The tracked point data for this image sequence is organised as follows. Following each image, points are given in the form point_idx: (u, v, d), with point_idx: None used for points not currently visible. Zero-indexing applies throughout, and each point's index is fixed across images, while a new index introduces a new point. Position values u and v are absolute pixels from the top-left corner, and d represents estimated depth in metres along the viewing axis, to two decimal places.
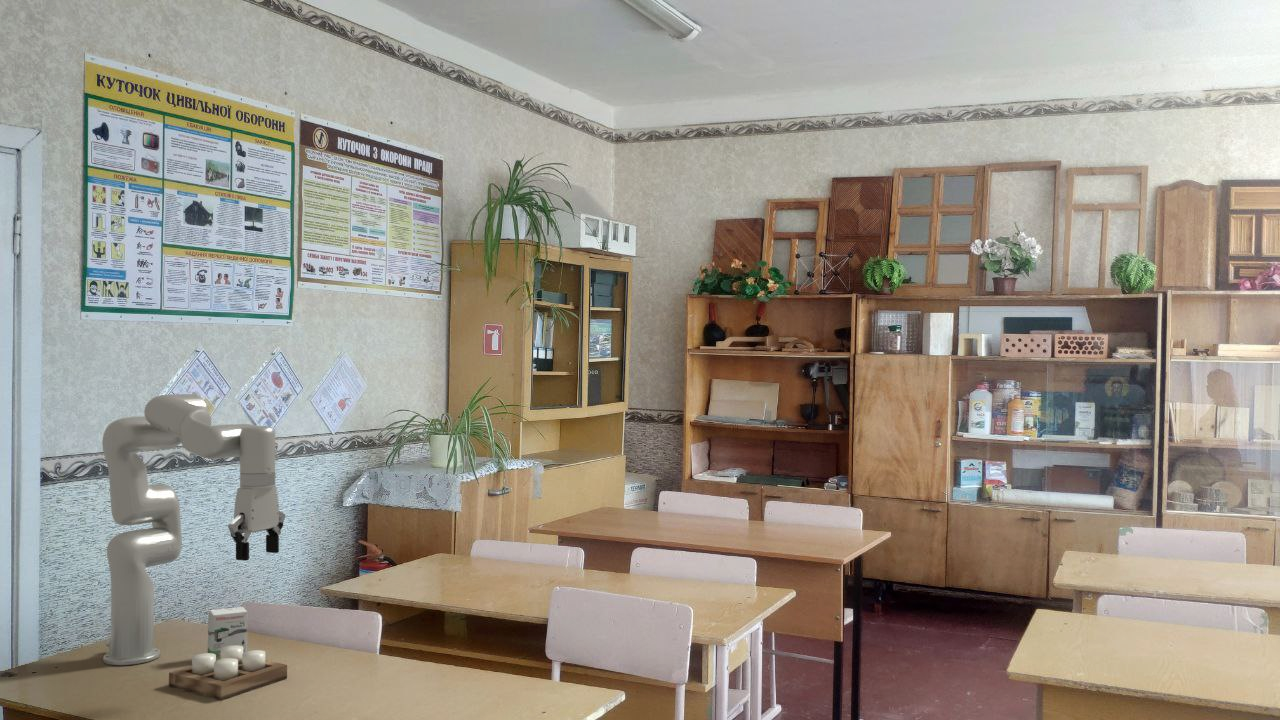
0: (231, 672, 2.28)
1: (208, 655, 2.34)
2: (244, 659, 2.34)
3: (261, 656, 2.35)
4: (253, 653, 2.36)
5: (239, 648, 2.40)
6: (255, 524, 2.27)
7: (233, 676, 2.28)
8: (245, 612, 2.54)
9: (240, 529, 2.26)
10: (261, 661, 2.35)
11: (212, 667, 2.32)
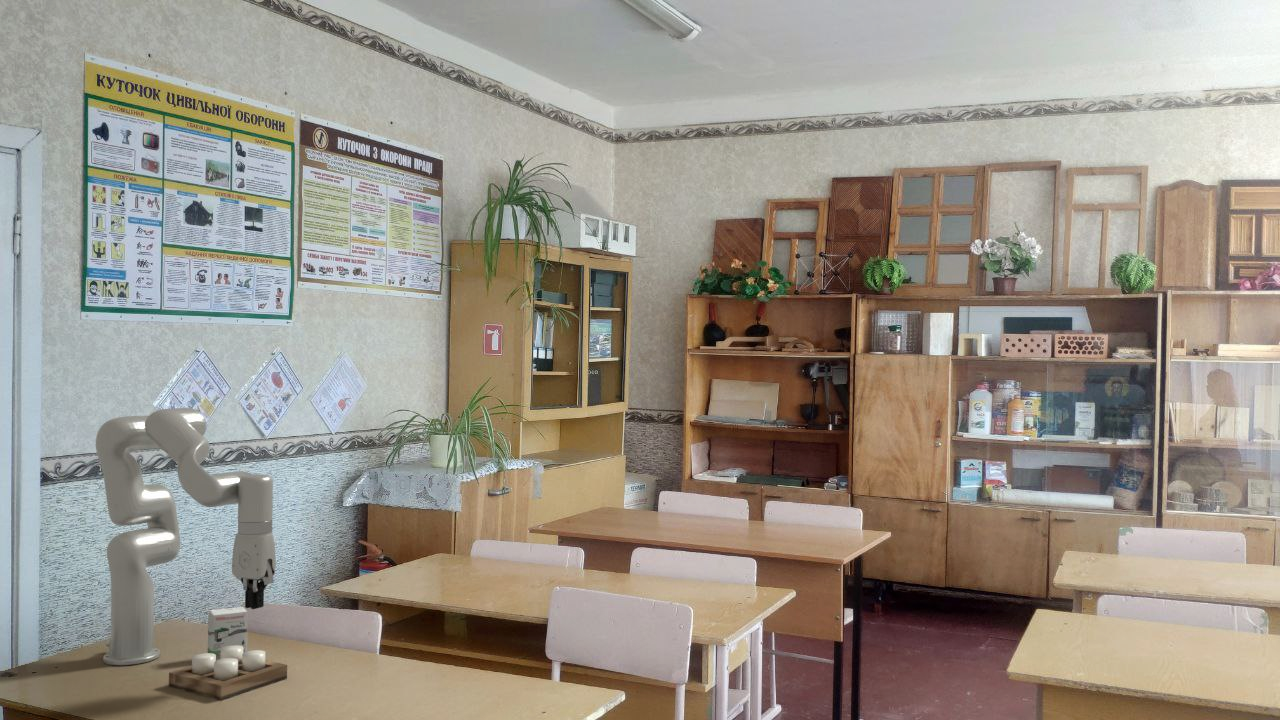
0: (231, 672, 2.28)
1: (208, 655, 2.34)
2: (244, 659, 2.34)
3: (261, 656, 2.35)
4: (253, 653, 2.36)
5: (239, 648, 2.40)
6: None
7: (233, 676, 2.28)
8: (245, 612, 2.54)
9: (258, 580, 2.34)
10: (261, 661, 2.35)
11: (212, 667, 2.32)
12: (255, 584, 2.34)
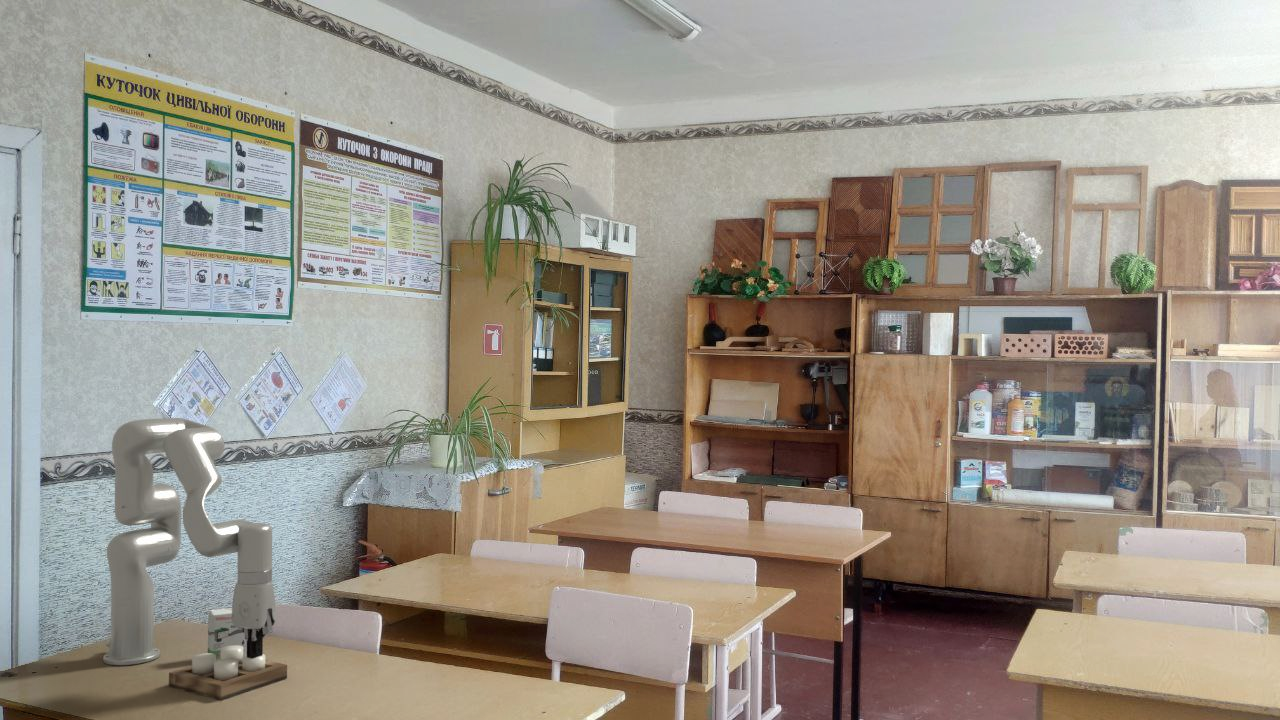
0: (231, 672, 2.28)
1: (208, 655, 2.34)
2: (244, 662, 2.34)
3: (261, 659, 2.35)
4: None
5: (239, 648, 2.40)
6: None
7: (233, 676, 2.28)
8: None
9: (258, 629, 2.34)
10: (261, 664, 2.35)
11: (212, 667, 2.32)
12: (254, 634, 2.34)
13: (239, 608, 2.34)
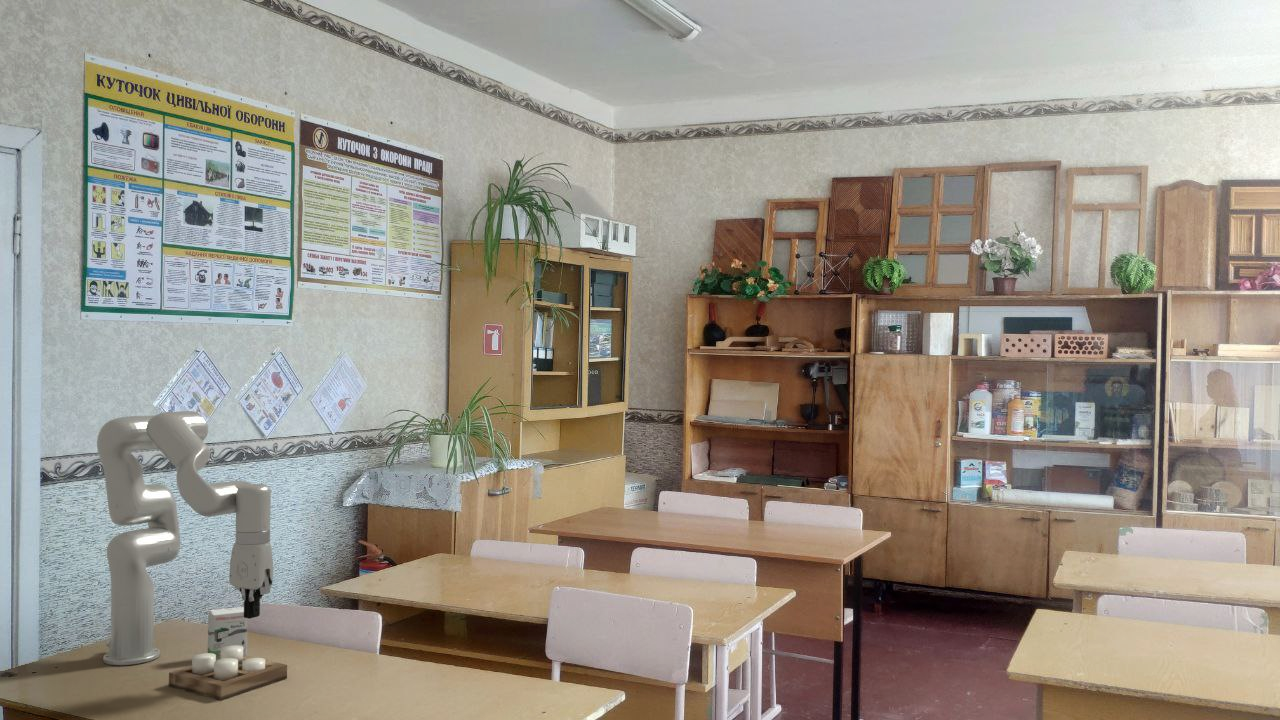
0: (231, 672, 2.28)
1: (208, 655, 2.34)
2: (244, 667, 2.34)
3: (261, 664, 2.35)
4: (253, 660, 2.36)
5: (239, 648, 2.40)
6: None
7: (233, 676, 2.28)
8: None
9: (255, 589, 2.34)
10: None
11: (212, 667, 2.32)
12: (251, 594, 2.34)
13: (237, 568, 2.34)
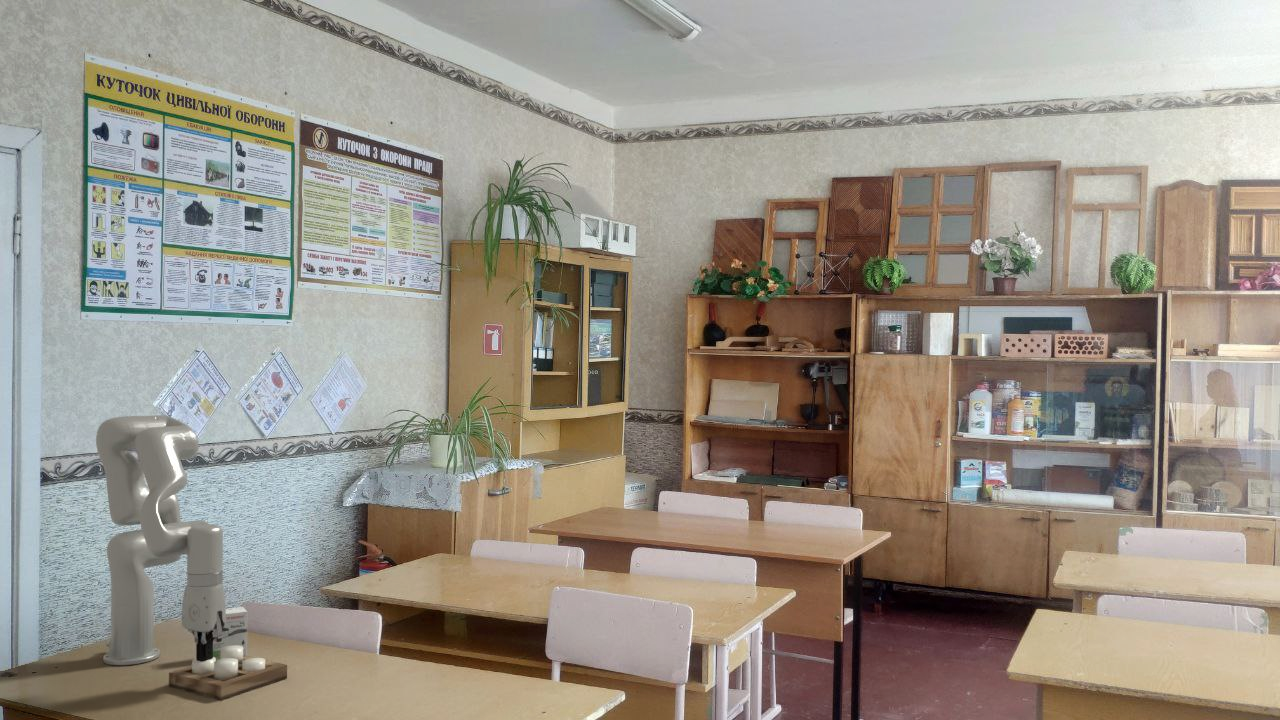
0: (231, 672, 2.28)
1: None
2: (244, 667, 2.34)
3: (261, 664, 2.35)
4: (253, 660, 2.36)
5: (239, 648, 2.40)
6: None
7: (233, 676, 2.28)
8: (245, 612, 2.54)
9: (207, 632, 2.31)
10: None
11: (212, 670, 2.32)
12: (204, 636, 2.31)
13: (189, 611, 2.31)
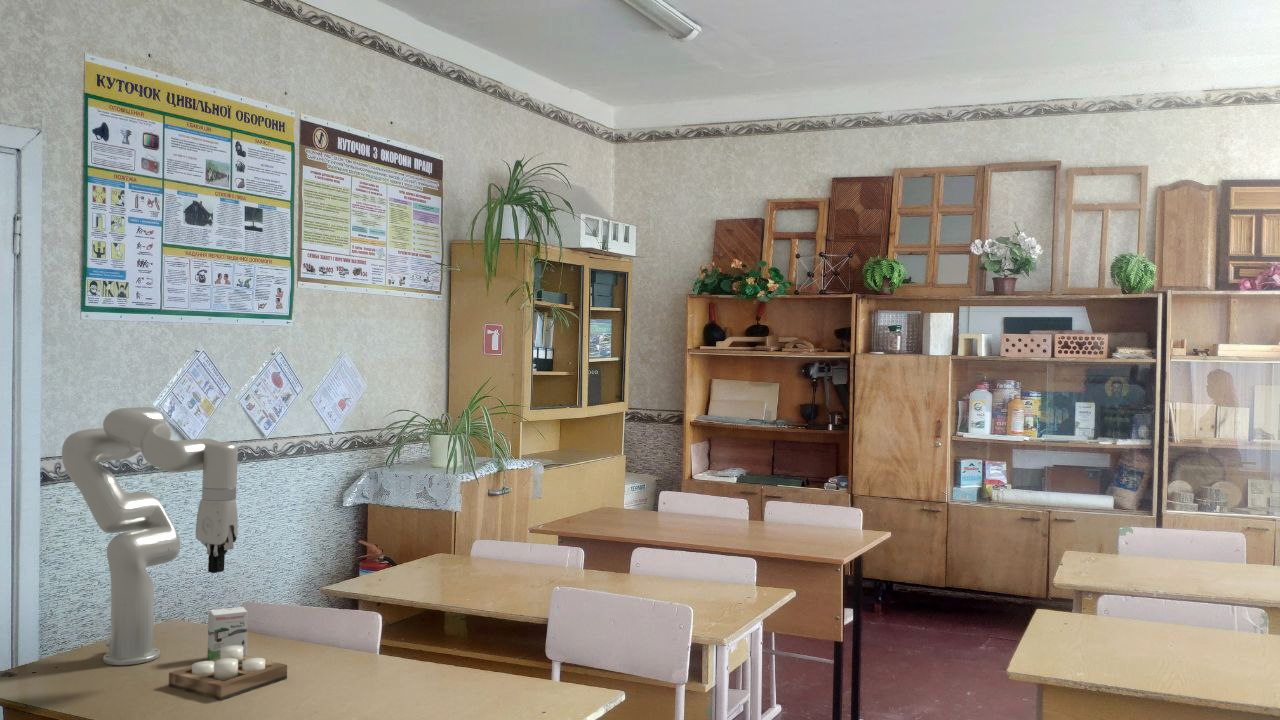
0: (231, 672, 2.28)
1: (208, 663, 2.34)
2: (244, 667, 2.34)
3: (261, 664, 2.35)
4: (253, 660, 2.36)
5: (239, 648, 2.40)
6: None
7: (233, 676, 2.28)
8: (245, 612, 2.54)
9: (219, 545, 2.39)
10: None
11: None
12: (216, 549, 2.39)
13: (202, 523, 2.40)
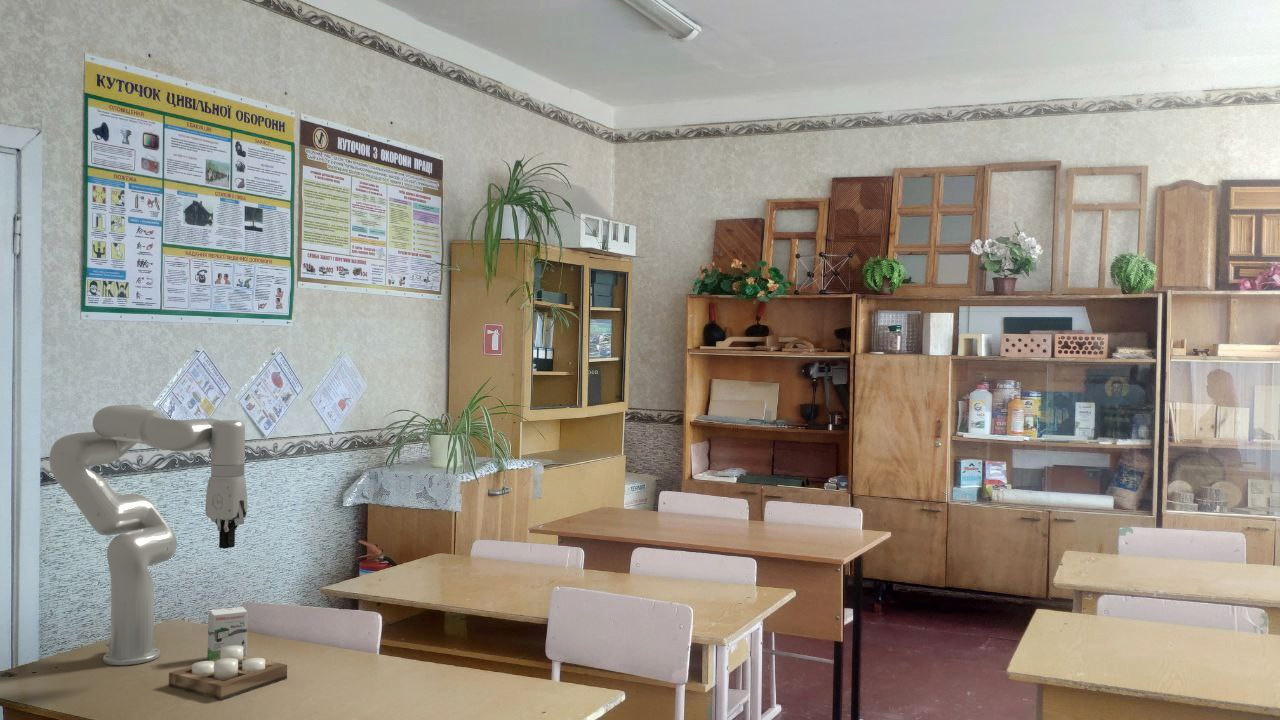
0: (231, 672, 2.28)
1: (208, 663, 2.34)
2: (244, 667, 2.34)
3: (261, 664, 2.35)
4: (253, 660, 2.36)
5: (239, 648, 2.40)
6: None
7: (233, 676, 2.28)
8: (245, 612, 2.54)
9: (230, 520, 2.44)
10: None
11: None
12: (226, 525, 2.44)
13: (212, 500, 2.44)
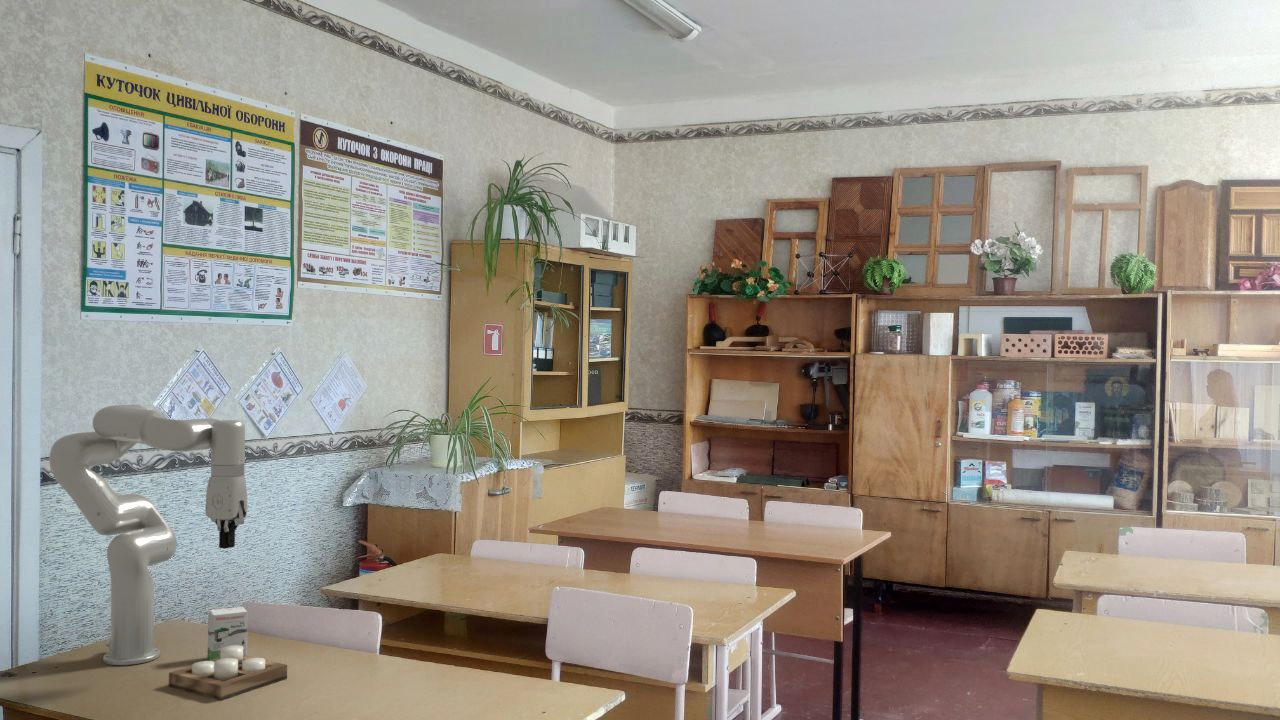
0: (231, 672, 2.28)
1: (208, 663, 2.34)
2: (244, 667, 2.34)
3: (261, 664, 2.35)
4: (253, 660, 2.36)
5: (239, 648, 2.40)
6: None
7: (233, 676, 2.28)
8: (245, 612, 2.54)
9: (230, 520, 2.44)
10: None
11: None
12: (226, 525, 2.44)
13: (212, 500, 2.44)
